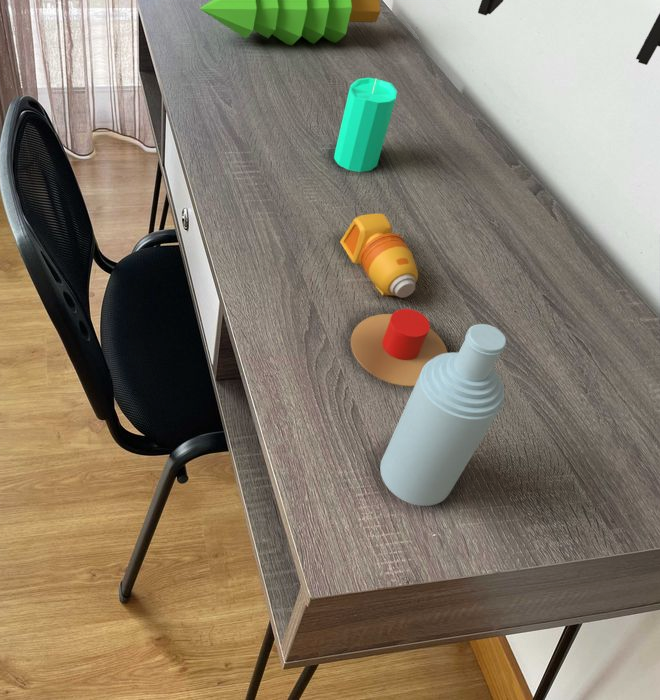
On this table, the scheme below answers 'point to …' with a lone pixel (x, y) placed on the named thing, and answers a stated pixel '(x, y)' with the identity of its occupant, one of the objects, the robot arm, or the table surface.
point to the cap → (405, 334)
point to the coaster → (384, 365)
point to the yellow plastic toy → (381, 255)
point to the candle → (365, 124)
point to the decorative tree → (293, 17)
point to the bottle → (445, 419)
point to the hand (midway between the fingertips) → (565, 30)
